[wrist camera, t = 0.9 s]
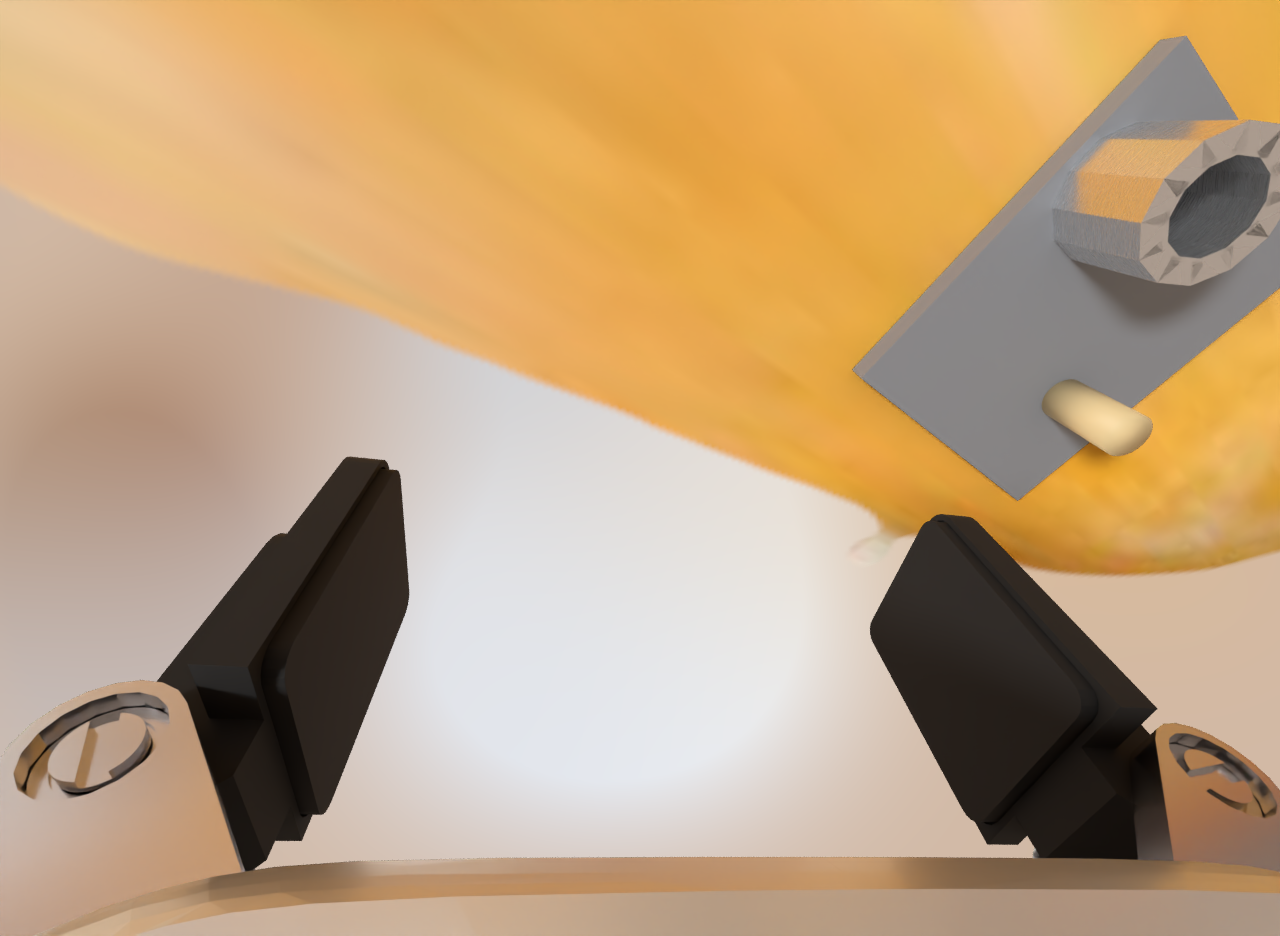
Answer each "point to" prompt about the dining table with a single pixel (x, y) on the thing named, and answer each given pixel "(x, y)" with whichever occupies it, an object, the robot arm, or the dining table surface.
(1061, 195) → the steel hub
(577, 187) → the dining table surface
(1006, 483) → the stand
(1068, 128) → the dining table surface
